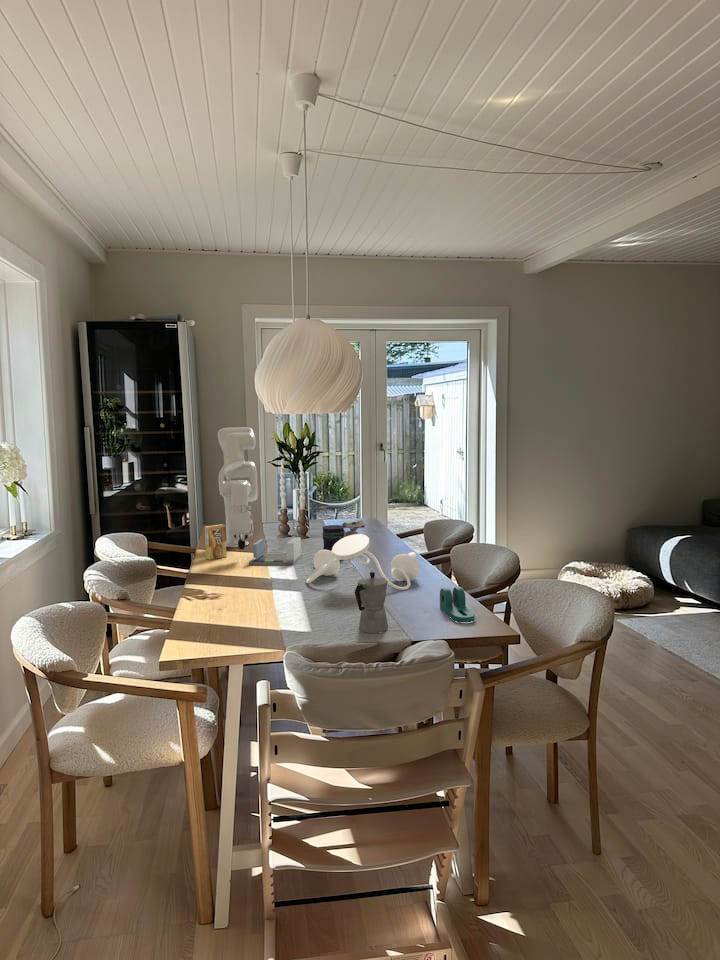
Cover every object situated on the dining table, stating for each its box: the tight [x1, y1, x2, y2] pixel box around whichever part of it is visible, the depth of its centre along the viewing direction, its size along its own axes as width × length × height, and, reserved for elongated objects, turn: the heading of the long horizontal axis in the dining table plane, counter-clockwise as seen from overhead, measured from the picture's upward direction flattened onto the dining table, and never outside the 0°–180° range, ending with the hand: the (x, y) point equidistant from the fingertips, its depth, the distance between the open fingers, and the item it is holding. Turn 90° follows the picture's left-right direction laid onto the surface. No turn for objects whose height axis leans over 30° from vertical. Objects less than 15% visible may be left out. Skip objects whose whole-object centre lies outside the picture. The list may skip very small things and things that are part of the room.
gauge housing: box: [248, 536, 303, 566], centre depth 310 cm, size 18×20×10 cm
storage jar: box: [322, 524, 345, 562], centre depth 310 cm, size 10×10×15 cm
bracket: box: [439, 586, 476, 622], centre depth 223 cm, size 18×7×8 cm, turn 11°
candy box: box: [204, 523, 227, 561], centre depth 318 cm, size 9×4×15 cm, turn 129°
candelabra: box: [305, 533, 420, 591], centre depth 269 cm, size 20×45×37 cm
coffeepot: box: [354, 571, 389, 634], centre depth 210 cm, size 15×9×18 cm, turn 144°
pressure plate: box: [252, 538, 265, 560], centre depth 310 cm, size 14×2×7 cm, turn 172°
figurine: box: [341, 519, 366, 537], centre depth 326 cm, size 9×12×15 cm
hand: (241, 548), depth 311 cm, fingers closed
